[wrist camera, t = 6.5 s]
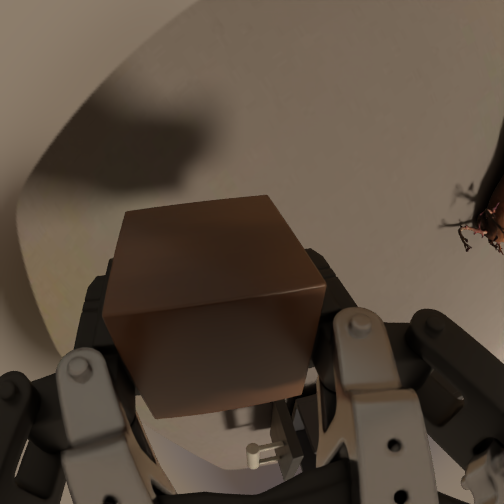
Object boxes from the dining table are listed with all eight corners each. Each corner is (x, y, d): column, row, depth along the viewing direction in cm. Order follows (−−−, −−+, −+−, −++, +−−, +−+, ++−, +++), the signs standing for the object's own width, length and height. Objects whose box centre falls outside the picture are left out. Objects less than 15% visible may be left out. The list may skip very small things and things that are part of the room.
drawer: (240, 439, 38) (252, 487, 32) (236, 405, 31) (251, 468, 25) (355, 410, 41) (374, 451, 35) (377, 369, 35) (404, 419, 28)
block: (151, 315, 11) (154, 419, 8) (124, 210, 9) (100, 316, 5) (264, 300, 12) (302, 395, 8) (267, 194, 10) (328, 283, 6)
